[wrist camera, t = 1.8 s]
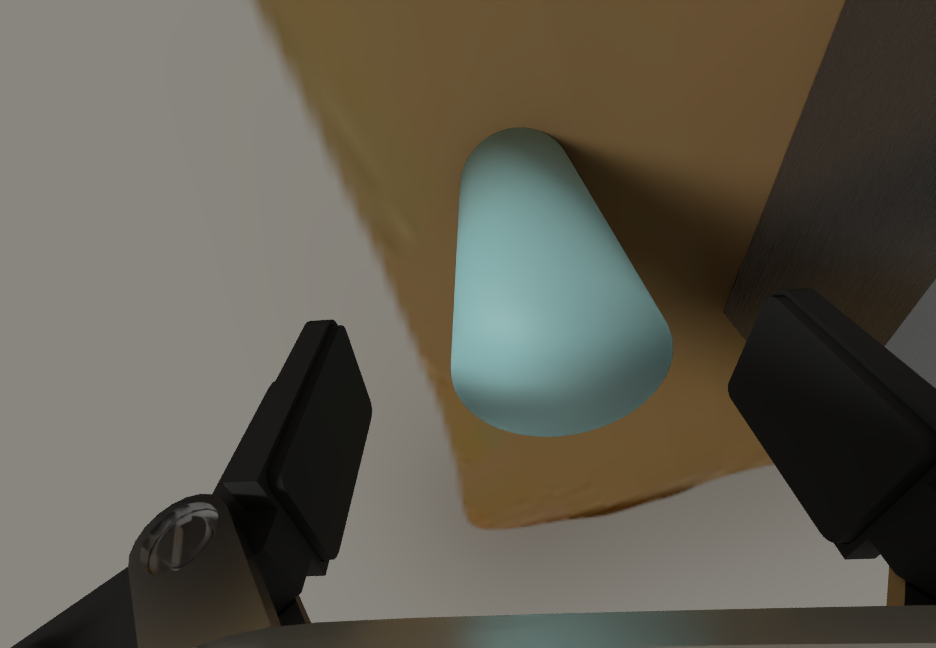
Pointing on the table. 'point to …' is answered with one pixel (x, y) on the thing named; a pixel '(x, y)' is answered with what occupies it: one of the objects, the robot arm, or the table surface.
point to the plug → (546, 297)
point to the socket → (860, 186)
